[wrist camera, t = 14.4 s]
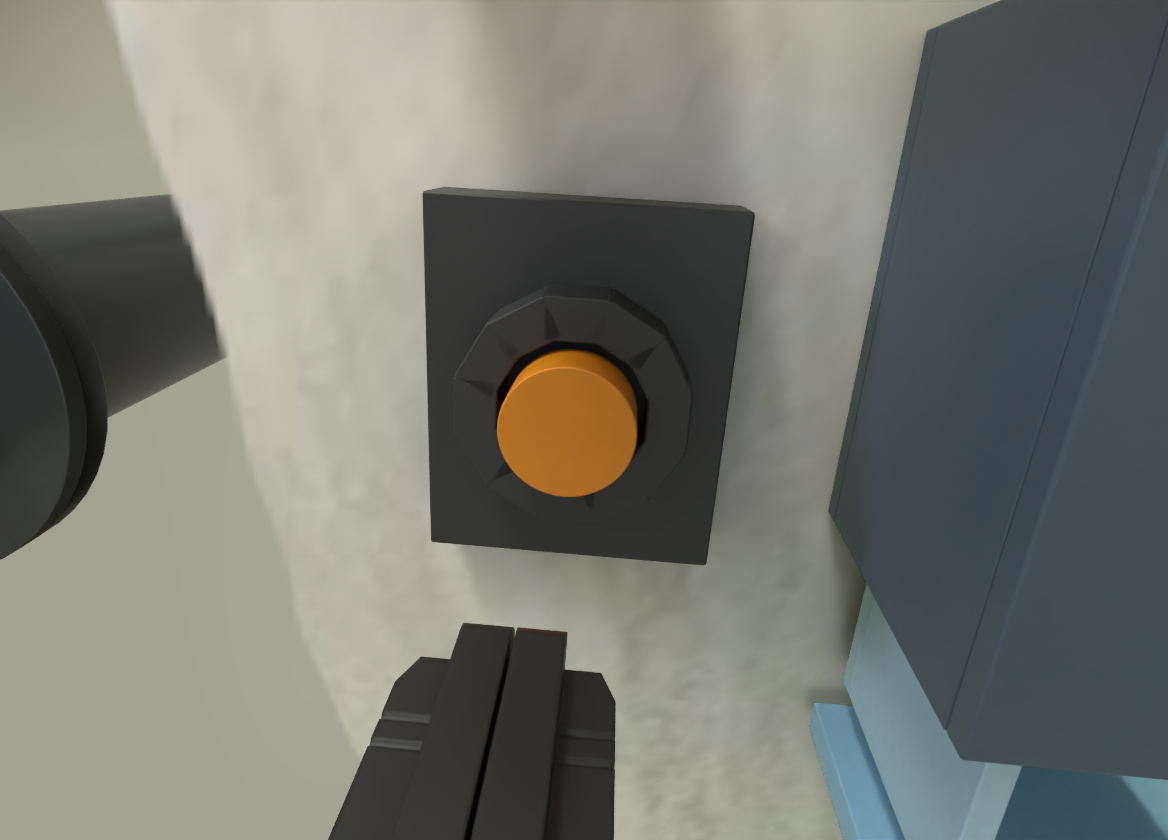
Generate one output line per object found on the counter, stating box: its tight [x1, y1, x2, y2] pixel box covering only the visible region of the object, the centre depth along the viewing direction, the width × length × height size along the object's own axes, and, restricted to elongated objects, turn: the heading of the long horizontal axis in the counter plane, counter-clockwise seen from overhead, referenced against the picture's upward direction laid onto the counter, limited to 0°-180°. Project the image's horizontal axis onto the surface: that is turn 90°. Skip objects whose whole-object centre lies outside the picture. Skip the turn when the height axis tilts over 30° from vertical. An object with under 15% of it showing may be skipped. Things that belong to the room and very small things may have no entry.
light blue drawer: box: [809, 583, 1168, 840], centre depth 20 cm, size 18×11×9 cm, turn 177°
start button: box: [497, 349, 637, 497], centre depth 19 cm, size 4×4×2 cm
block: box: [423, 187, 755, 565], centre depth 21 cm, size 9×11×4 cm
